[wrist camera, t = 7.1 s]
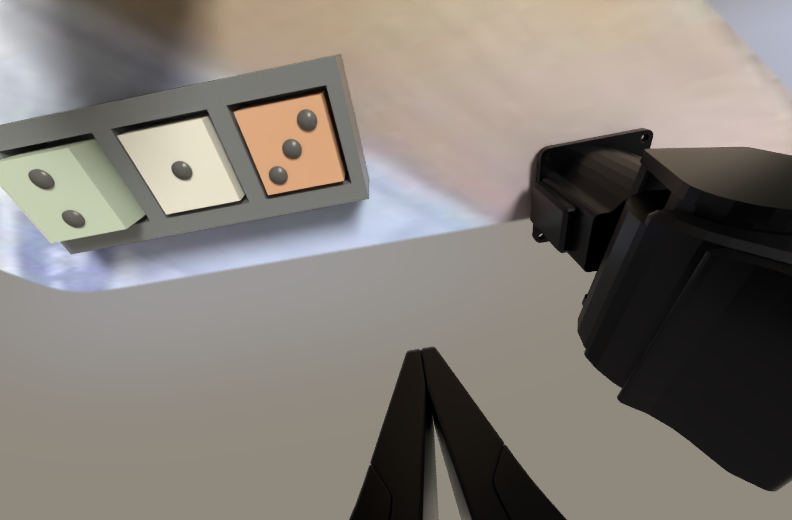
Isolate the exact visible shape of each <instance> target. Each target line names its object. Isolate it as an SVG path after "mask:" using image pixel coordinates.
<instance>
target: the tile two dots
mask: <svg viewBox="0 0 792 520" xmlns="http://www.w3.org/2000/svg"><path fill="white" fill-rule="evenodd" d="M0 186H1V188H2V189H3V190H4V191H5V192H6V193H7V194H8V195H9V197H10V198H11V199H12V200H13V201H14V202H15V203H16V204H17V206H18V207H19V208H20V209H21V210H22V211H23V212H24V213H25V214H26V216H27V217H28V218H29V219H30V220H31V221H32V222H33V223H34V225H35V226H36V227H37V228H38V229H39V230H40V231H41V232H42V234H43V235H44V236H45V237H46V238H47V239H48V240H49V241H50V243H55V242H61V241H66V240H71V239H76V238H82V237H87V236H92V235H98V234H103V233H108V232H114V231H119V230H124V229H127V228H129V227H130V226H131V225H133V224H134V223H135V222H137V221H138V220H139V219H141V218H142V217H143V216H145V215H146V214H145V212H144V211H143V209H142V208H141V206H140V205H139V203H138V202H137V200H136V199H135V197H134V196H133V194H132V193H131V191H130V190H129V188H128V187H127V185H126V184H125V182H124V181H123V179H122V178H121V176H120V175H119V173H118V172H117V170H116V169H115V167H114V166H113V164H112V163H111V161H110V160H109V158H108V156H107V155H106V153H105V152H104V150H103V149H102V147H101V146H100V144H99V143H98V141H97V140H96V138H95V137H94V138H89V139H84V140H79V141H75V142H70V143H65V144H60V145H55V146H50V147H45V148H40V149H35V150H31V151H28V152H24V153H21V154H18V155H15V156H11V157H8V158H5V159H1V160H0Z"/></svg>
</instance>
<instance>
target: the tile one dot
mask: <svg viewBox="0 0 792 520" xmlns="http://www.w3.org/2000/svg"><path fill="white" fill-rule="evenodd" d="M117 137H118V138H119V140H120V141H121V143H122V145H123V146H124V148H125V149H126V151H127V153H128V154H129V156H130V157H131V159H132V161H133V162H134V164H135V165H136V167H137V169H138V170H139V172H140V173H141V175H142V177H143V178H144V180H145V181H146V183H147V185H148V186H149V188H150V189H151V191H152V193H153V194H154V196H155V197H156V199H157V201H158V202H159V204H160V205H161V207H162V209H163V210H164V212H165V213H166V215H167V214H172V213H177V212H182V211H188V210H193V209H198V208H204V207H209V206H214V205H219V204H225V203H230V202H235V201H240V200H241V199H242V198H243V197H244V195H245V191H244V189H243V187H242V185H241V183H240V181H239V178H238V176H237V174H236V172H235V170H234V167H233V165H232V163H231V161H230V159H229V156H228V154H227V152H226V150H225V148H224V146H223V143H222V141H221V139H220V137H219V135H218V132H217V130H216V128H215V126H214V124H213V121H212V119H211V117H210V115H209V113H204V114H199V115H194V116H189V117H184V118H179V119H174V120H169V121H164V122H159V123H154V124H149V125H146V126H143V127H141V128H138V129H135V130H132V131H129V132H126V133H124V134H121V135H118V136H117Z"/></svg>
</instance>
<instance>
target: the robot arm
mask: <svg viewBox="0 0 792 520" xmlns="http://www.w3.org/2000/svg"><path fill="white" fill-rule="evenodd" d="M643 135H644V137H643V139H642V140H641V141H640V138H641V136H643ZM652 139H653V133H652V131H651V130H648V129H645V128H641V129H636V130H630V131H625V132H620V133H614V134H609V135H604V136H599V137H593V138H588V139H583V140H577V141H572V142H567V143H562V144H556V145H551V146H546V147H544V148H543V149H541V150H540V152H539V154H538V163H537V177H536V182H535V184H534V185H533V187H532V202H531V218H530V220H531V221H532V223H533V233H532V236H533V238H534V239H535V240H536V241H537V242H539V243H542V242H548V241H550V242H551V244H552V245H553V246H554V247H555V248H556V249H557V250H558V251H559V252H561V253H565V252H567V253H568V254H569V255H570V256H571V257H572V258H573V259H574V260H575V261H576V262H577V263H578V264H579V265H580V266H581V267H582V269H584V271H586V272H592V271H597V273H596V275H595V278H594V280H593V282H592V285H591V287H590V290H589V292H588V294H586V295H585V297H584V299H583V301H582V305H583V308H582V310H581V313H580V315H579V318H578V334H579V336H580V338H581V340H582V343H583V345H584V347H585V348H586V350H585V353H584V354H585V356H586V358H587V359H588V360H589V361H590V362H591V363H592V364H593V366H594V367H595V368H596V369H597V370H598V371H600V372H601V373H602V374H603V375H604V376H606V377H607V378H608V379H609V380H611V381H612V382H613V383H615V384H616V385H618V386H619V387H621V388H622V390H621V391H620V393H619V395H618V396H617V398H618V400H619V401H620V402H621V403H623V404H625V405H628V406H630V407H632V408H635V409H637V410H640V411H642V412H645V413H647V414H649V415H651V416H652V417H654V418H656V419H657V420H659V421H661V422H663V423H664V424H666V425H668V426H669V427H671V428H673V429H674V430H675V431H677V432H678V433H679V434H681V435H682V436H683V437H685V438H686V439H687V440H689V441H690V442H691V443H693V444H694V445H695V446H696V447H698V448H699V449H700V450H701V451H703V452H704V453H705V454H706V455H707V456H709V457H710V458H711V459H712V460H714V461H715V462H716V463H717V464H719V465H720V466H721V467H722V468H724V469H725V470H726V471H728V472H729V473H731V474H733V475H735V476H737V477H740V478H742V479H743V480H745V481H747V482H750V483H752V484H754V485H756V486H758V487H760V488H762V489H764V490H767V491H777V490H779V489H780V488H782V487H783V486H785V485H786V484H788V483H789V482H790V481H792V156H791V155H786V154H781V153H776V152H771V151H765V150H760V149H755V148H750V147H714V148H665V149H650V146H651V142H652ZM549 152H550V153H551V154H550V157H549V158H547V159H545V156H546V154H547V153H549ZM541 233H542V234H543V235H542V236H540V237H538V236H539V235H540V234H541ZM432 416H433V417H432ZM433 421H434V425H435V429H436V433H437V437H438V440H439V443H440V447H441V450H442V453H443V457H444V461H445V464H446V467H447V471H448V474H449V478H450V482H451V485H452V488H453V492H454V495H455V499H456V502H457V506H458V509H459V513H460V516H461V519H462V520H566V518H565V517H564V516H563V515H562V514H561V513H560V512H559V511H558V509H557V508H556V507H555V506H554V505H553V504H552V503H551V502H550V501H549V499H548V498H547V497H546V496H545V495H544V493H543V492H542V491H541V490H540V489H539V487H538V486H537V485H536V484H535V483H534V482H533V480H532V479H531V478H530V477H529V475H528V474H527V473H526V471H525V470H524V469H523V468H522V466H521V465H520V464H519V463H518V461H517V460H516V458H515V457H514V456H513V454H512V453H511V451H510V450H509V449H508V447H507V446H506V445H504V442H503V441H502V439H501V438H500V437H499V435H498V434H497V432H496V431H495V430H494V428H493V427H492V425H491V424H490V423H489V421H488V420H487V419H486V417H485V416H484V414H483V413H482V412H481V410H480V409H479V407H478V406H477V405H476V403H475V402H474V400H473V399H472V398H471V397H470V395H469V394H468V392H467V391H466V389H465V388H464V387H463V385H462V384H461V383H460V381H459V380H458V378H457V377H456V376H455V374H454V373H453V372H452V370H451V369H450V367H449V366H448V365H447V363H446V362H445V360H444V359H443V357H442V356H441V355H440V353H439V352H438V351H437V349H436V348H435V347H429V348H423V349H422V350H419V349H416V350H410V351H407V353H406V356H405V359H404V361H403V364H402V368H401V370H400V374H399V377H398V380H397V383H396V386H395V389H394V392H393V395H392V398H391V401H390V404H389V407H388V410H387V413H386V416H385V419H384V423H383V425H382V428H381V432H380V435H379V438H378V441H377V444H376V447H375V450H374V453H373V456H372V459H371V465H370V466H369V468H368V471H367V474H366V477H365V480H364V483H363V486H362V488H361V491H360V494H359V497H358V499H357V502H356V505H355V507H354V510H353V512H352V514H351V517H350V519H349V520H438V500H437V481H436V460H435V441H434V425H433Z"/></svg>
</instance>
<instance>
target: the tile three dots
mask: <svg viewBox="0 0 792 520" xmlns="http://www.w3.org/2000/svg"><path fill="white" fill-rule="evenodd" d="M234 115H235V117H236V119H237V122H238V124H239V127H240V129H241V131H242V134H243V136H244V139H245V141H246V143H247V146H248V148H249V150H250V153H251V155H252V158H253V160H254V162H255V165H256V167H257V170H258V172H259V174H260V177H261V179H262V182H263V184H264V186H265V189H266V191H267V194H268V195H272V194H277V193H282V192H288V191H293V190H298V189H303V188H309V187H314V186H319V185H325V184H330V183H335V182H340V181H344V179H345V174H346V169H347V164H346V160H345V156H344V152H343V149H342V145H341V141H340V137H339V133H338V129H337V125H336V122H335V118H334V114H333V110H332V106H331V102H330V98H329V95H328V91H327V89H322V90H317V91H312V92H307V93H302V94H297V95H292V96H287V97H282V98H277V99H272V100H267V101H263V102H258V103H253V104H250V105H248V106H245V107H243V108H241V109H239V110H237V111H235V112H234Z"/></svg>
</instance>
